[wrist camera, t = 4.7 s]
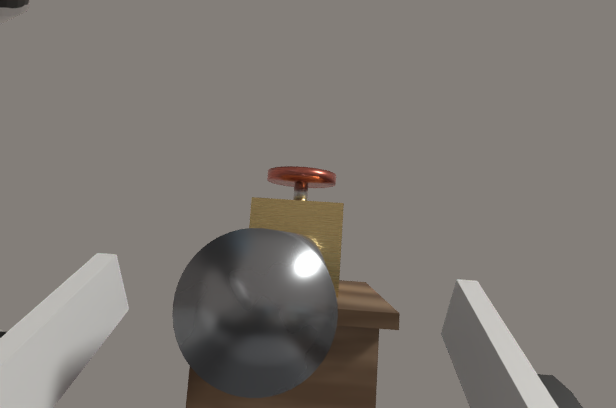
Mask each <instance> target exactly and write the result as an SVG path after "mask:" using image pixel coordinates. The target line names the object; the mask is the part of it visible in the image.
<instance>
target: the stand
mask: <svg viewBox="0 0 616 408" xmlns="http://www.w3.org/2000/svg"><path fill="white" fill-rule="evenodd" d="M336 298H337V305H338V319H337V327H336V332H335V336H334V339H333V342H332V344H331V347H330V349H329V351H328V353H327V355H326V357H325V359H324V360H323V361H322V363H321V364H320V366H319V367H318V368H317V369H316V370H315V371H314V372H313V373H312V375H311V376H310V377H308V378H307V379H306V380H305V381H303V382H302V383H301V384H299V385H297V386H296V387H294V388H292V389H291V390H288V391H286V392H284V393H281V394H278V395H274V396H270V397H263V398H245V397H239V396H234V395H231V394H228V393H225V392H223V391H221V390H218V389H216V388H215V387H213V386H211V385H210V384H208V383H207V382H206V381H204V380H203V379H202V378H201V377H200V376H198V375H197V373H196V372H195V371H194V370H193V369H192V368H191V367H190V370H189V380H188V391H187V401H186V408H375V405H376V385H377V362H378V341H379V329H391V330H399V313H398V312H397V311H396V310H395V309H394V308H393V307H392V306H391V305H390V304H389V303H387V302H386V301H385V300H384V299H383V298H382V297H381V296H380V295H379V294H378V293H376V292H375V291H374V290H373V289H372V288H371V287H370V286H369V285H368V284H367V283H366V282H354V281H341V280H339V292H338V297H336Z"/></svg>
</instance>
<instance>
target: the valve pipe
mask: <svg viewBox="0 0 616 408" xmlns="http://www.w3.org/2000/svg"><path fill="white" fill-rule="evenodd" d="M268 181H269V182H271V183H274V184H279V185H284V186H291V187H294V200H285V199H269V198H254V197H252V203H251V214H250V226H249V229H241V230H237V231H233V232H229V233H228V234H225V235H223V236H220V237H218V238H216V239H215V240H213V241H211V242H210V243H209V244H207V245H206V246H205V247H203V248H202V249H201V250H200V251H199V252H198V253H197V254H196V255H195V256H194V257H193V259H192V260H191V261H190V262H189V264H188V265H187V267H186V268H185V270H184V272H183V273H182V276H181V278H180V280H179V282H178V285H177V288H176V292H175V296H174V302H173V326H174V331H175V336H176V339H177V342H178V345H179V348H180V350H181V352H182V354H183V356H184V358H185V359H186V361H187V362H188V364H189V365H190V367H191V368H192V369H193V370H194V371H195V372H196V373H197V375H198V376H200V377H201V378H202V379H203V380H204V381H206V382H207V383H208V384H210V385H211V386H213V387H215V388H216V389H218V390H221V391H223V392H225V393H228V394H231V395H234V396H239V397H245V398H263V397H270V396H274V395H278V394H281V393H284V392H286V391H288V390H291V389H292V388H294V387H296V386H297V385H299V384H301V383H302V382H303V381H305V380H306V379H307V378H308V377H310V376H311V375H312V373H313V372H314V371H315V370H316V369H317V368H318V367H319V366H320V364H321V363H322V361H323V360H324V359H325V357H326V355H327V353H328V351H329V349H330V347H331V344H332V342H333V339H334V336H335V332H336V327H337V319H338V305H337V298H336V297H338V292H339V273H340V257H341V239H342V222H343V221H342V220H343V205H344V204H343V203H330V202H316V201H315V202H314V201H307V193H308V188H327V187H333V186H335V181H336V175H335V174H334V173H332V172H330V171H326V170H321V169H316V168H308V167H275V168H271V169H269V170H268Z"/></svg>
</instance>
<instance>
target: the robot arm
mask: <svg viewBox="0 0 616 408" xmlns="http://www.w3.org/2000/svg"><path fill="white" fill-rule="evenodd" d="M28 8H29V0H0V24H2V23H4V22H6V21H8V20H10V19H12V18H14V17H16V16H18V15H20V14H23V13H24V12H27V10H28ZM128 310H129V307H128V302H127V298H126V293H125V289H124V285H123V280H122V276H121V272H120V267H119V263H118V259H117V255H116V254H103V253H97V254H96V255H95V256H93V257H92V258H91V259H90V260H89V261H88V262H87V263H86V264H84V265H83V266H82V267H81V268H80V269H79V270H78V271H76V272H75V273H74V274H73V275H72V276H71V277H70V278H68V279H67V280H66V281H65V282H64V283H63V284H62V285H60V287H58V288H57V289H56V290H55V291H54V292H53V293H51V294H50V295H49V296H48V297H47V298H46V299H45V300H44V301H42V302H41V303H40V304H39V305H38V306H36V307H35V308H34V309H33V310H32V311H31V312H30V313H29V314H28V315H26V316H25V317H24V318H23V319H22V320H21V321H19V322H18V323H17V324H16V325H15V326H14V327H13V328H11V329H10V330H9V331H8V332H4V331H3V330H1V329H0V408H53V407H54V406H55V405H56V403H57V402H58V401H59V399H60V398H61V397H62V396H63V394H64V393H65V392H66V390H67V389H68V388H69V386H70V385H71V384H72V382H73V381H74V380H75V379H76V377H77V376H78V375H79V373H80V372H81V371H82V369H83V368H84V367H85V366H86V364H87V363H88V362H89V361H90V359H91V358H92V357H93V355H94V354H95V352H96V351H97V350H98V349H99V348H100V346H101V345H102V344H103V342H104V341H105V340H106V338H107V337H108V336H109V335H110V333H111V332H112V331H113V329H114V328H115V326H116V325H117V324H118V323H119V322H120V320H121V319H122V318H123V316H124V315H125V314H126V312H127V311H128ZM441 335H442V337H443V340H444V342H445V345H446V348H447V350H448V353H449V355H450V358H451V360H452V363H453V365H454V368H455V370H456V373H457V375H458V378H459V380H460V383H461V386H462V388H463V391H464V393H465V396H466V398H467V401H468V403H469V406H470V408H583V407H582V406H581V405H580V403H579V402H578V401H577V399H576V398H575V396H574V395H573V393H572V392H571V391H570V390H569V389H567V388H566V387H565V386H564V385H563V384H562V383H561V382H560V381H559V380H557V379H556V378H555V377H554V376H553V375H540V374H536V372H535V370H534V369H533V367H532V366H531V364H530V362H529V361H528V360H527V358H526V356H525V355H524V353H523V352H522V350H521V348H520V347H519V345H518V344H517V342H516V341H515V339H514V337H513V336H512V334H511V333H510V331H509V330H508V328H507V327H506V325H505V324H504V322H503V320H502V319H501V317H500V316H499V314H498V313H497V311H496V309H495V308H494V306H493V305H492V303H491V302H490V300H489V299H488V297H487V295H486V294H485V293H484V291H483V289H482V288H481V286H480V285H479V283H478V281H470V280H458V279H457V280H456V284H455V287H454V290H453V294H452V297H451V301H450V305H449V308H448V312H447V315H446V318H445V322H444V325H443V329H442V332H441Z"/></svg>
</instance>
